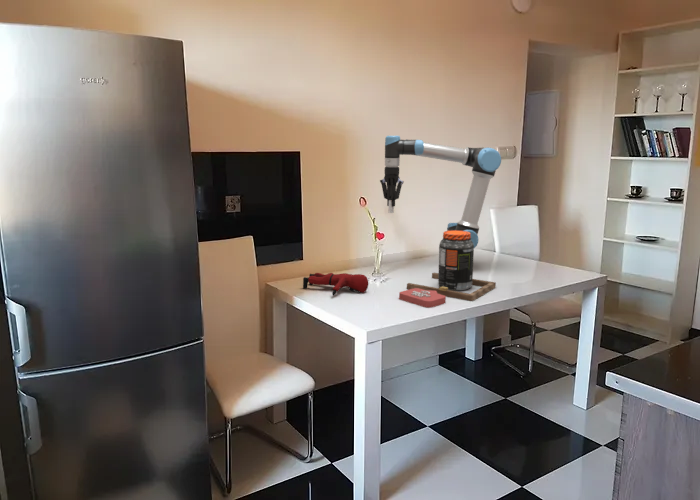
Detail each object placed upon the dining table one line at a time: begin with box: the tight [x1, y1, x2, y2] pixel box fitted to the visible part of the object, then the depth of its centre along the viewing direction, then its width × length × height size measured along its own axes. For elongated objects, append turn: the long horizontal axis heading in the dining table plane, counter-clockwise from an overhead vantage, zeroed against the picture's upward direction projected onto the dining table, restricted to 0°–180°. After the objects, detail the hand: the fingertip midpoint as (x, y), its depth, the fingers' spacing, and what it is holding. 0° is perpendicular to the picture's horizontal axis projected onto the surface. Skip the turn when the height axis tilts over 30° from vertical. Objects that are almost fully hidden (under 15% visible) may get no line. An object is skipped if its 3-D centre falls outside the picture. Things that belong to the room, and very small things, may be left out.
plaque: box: [398, 288, 447, 308], centre depth 233 cm, size 18×4×15 cm
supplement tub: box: [437, 230, 475, 291], centre depth 252 cm, size 16×16×26 cm
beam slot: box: [406, 272, 497, 302], centre depth 251 cm, size 28×32×4 cm
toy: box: [302, 272, 369, 297], centre depth 248 cm, size 28×8×30 cm
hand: (391, 212), depth 280 cm, fingers closed
